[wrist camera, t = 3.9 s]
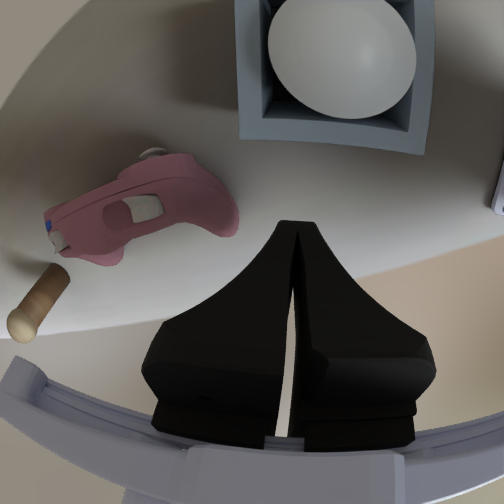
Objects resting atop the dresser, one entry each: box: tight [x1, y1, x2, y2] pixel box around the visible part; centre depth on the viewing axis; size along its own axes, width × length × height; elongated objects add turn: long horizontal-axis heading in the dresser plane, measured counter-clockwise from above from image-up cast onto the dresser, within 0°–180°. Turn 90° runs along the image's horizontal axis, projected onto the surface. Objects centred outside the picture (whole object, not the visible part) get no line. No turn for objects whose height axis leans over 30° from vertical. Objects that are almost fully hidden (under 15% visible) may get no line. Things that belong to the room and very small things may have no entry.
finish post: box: [7, 263, 70, 343], centre depth 18 cm, size 3×3×8 cm
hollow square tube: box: [234, 0, 435, 156], centre depth 8 cm, size 6×6×4 cm
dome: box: [268, 0, 416, 119], centre depth 7 cm, size 4×4×4 cm
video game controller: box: [44, 147, 239, 266], centre depth 13 cm, size 10×5×7 cm, turn 110°
